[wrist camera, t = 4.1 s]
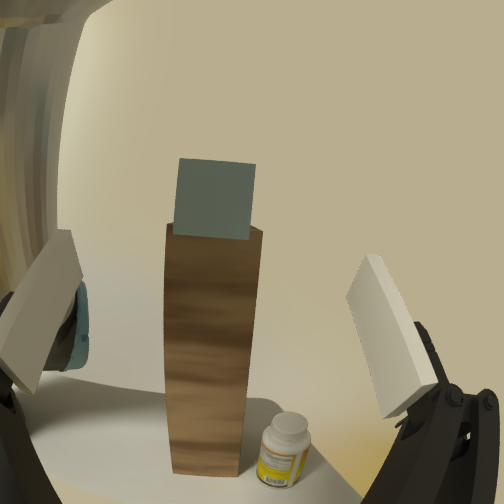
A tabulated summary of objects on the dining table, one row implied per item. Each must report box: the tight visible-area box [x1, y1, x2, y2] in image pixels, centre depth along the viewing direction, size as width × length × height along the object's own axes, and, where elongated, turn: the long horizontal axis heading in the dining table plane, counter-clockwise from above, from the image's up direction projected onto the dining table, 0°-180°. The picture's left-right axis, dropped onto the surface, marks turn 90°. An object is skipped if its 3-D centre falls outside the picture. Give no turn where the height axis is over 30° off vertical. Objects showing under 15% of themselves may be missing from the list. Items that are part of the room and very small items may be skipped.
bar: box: [173, 158, 256, 240], centre depth 26 cm, size 22×4×4 cm, turn 6°
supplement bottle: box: [257, 412, 311, 489], centre depth 28 cm, size 6×6×10 cm
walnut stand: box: [164, 222, 263, 477], centre depth 31 cm, size 10×8×30 cm
